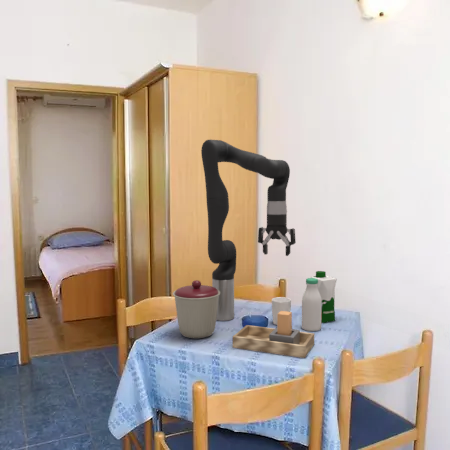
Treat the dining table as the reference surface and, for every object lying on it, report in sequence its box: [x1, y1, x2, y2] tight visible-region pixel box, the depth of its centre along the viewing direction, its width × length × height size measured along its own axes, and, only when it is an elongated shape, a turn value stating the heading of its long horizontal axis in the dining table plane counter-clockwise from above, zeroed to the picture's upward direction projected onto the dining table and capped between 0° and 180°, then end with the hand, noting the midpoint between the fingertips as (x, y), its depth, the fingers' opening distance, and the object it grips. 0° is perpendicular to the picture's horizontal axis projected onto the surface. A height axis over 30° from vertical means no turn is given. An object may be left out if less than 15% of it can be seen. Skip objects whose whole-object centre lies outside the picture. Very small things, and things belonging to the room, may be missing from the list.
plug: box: [276, 311, 293, 336], centre depth 168 cm, size 4×4×12 cm
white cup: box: [271, 296, 292, 326], centre depth 195 cm, size 8×8×10 cm
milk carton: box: [310, 270, 338, 324], centre depth 199 cm, size 9×9×20 cm
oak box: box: [232, 324, 315, 359], centre depth 170 cm, size 26×14×4 cm, turn 67°
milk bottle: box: [301, 277, 322, 332], centre depth 188 cm, size 8×8×20 cm
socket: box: [269, 327, 301, 345], centre depth 168 cm, size 9×9×5 cm
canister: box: [172, 279, 220, 339], centre depth 182 cm, size 18×18×21 cm
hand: (276, 254), depth 183 cm, fingers open, 8 cm apart
